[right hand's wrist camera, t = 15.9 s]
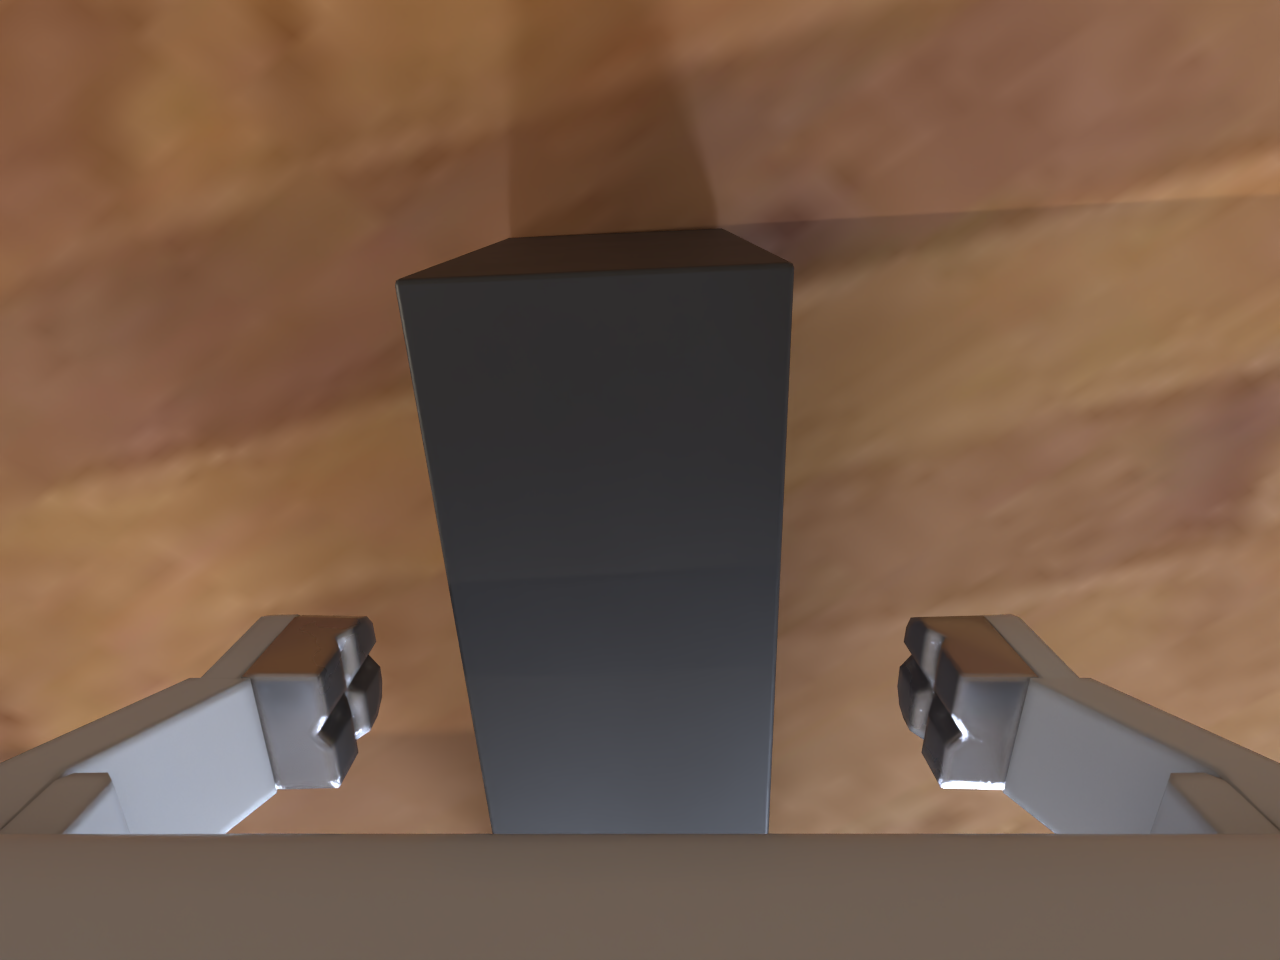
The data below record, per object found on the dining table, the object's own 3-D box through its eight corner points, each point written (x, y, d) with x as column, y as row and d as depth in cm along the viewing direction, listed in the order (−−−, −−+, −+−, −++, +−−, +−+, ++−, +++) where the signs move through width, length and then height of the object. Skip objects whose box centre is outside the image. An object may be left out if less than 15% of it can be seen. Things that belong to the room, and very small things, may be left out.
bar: (506, 238, 16) (391, 280, 9) (725, 228, 16) (796, 262, 8) (590, 986, 27) (571, 1281, 19) (719, 983, 27) (748, 1279, 19)
